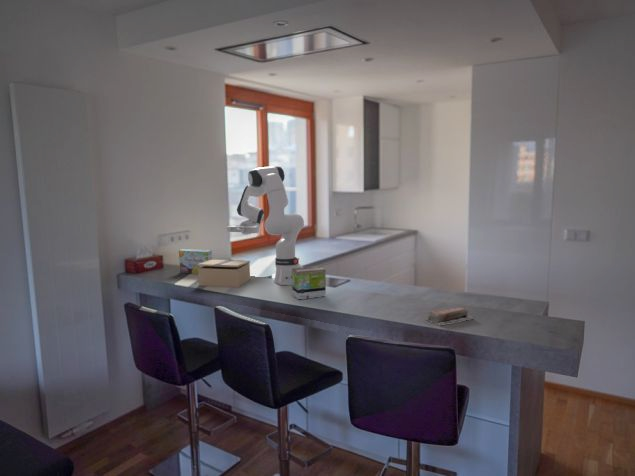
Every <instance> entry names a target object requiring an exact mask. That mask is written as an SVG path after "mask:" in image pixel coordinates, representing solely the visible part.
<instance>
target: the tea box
mask: <svg viewBox="0 0 635 476" xmlns="http://www.w3.org/2000/svg"><path fill="white" fill-rule="evenodd" d="M326 272H327V271H326V268H323V267H321V266H319V265H313V266H305V267H304V266H303V267H301V268H292V285H291V287H292V294H291V295H292V296H293V297H294V298H295V297H296V298H295V299H297V300H298V299H301V300H306V299H307V298H308V299H315V298H314V297H318V298H322V297H321V296H325V297H326V295H327V294H326V293H327V291H326V290H327V289H326V287H327V286H326V285H327V283H326V274H327V273H326ZM308 299H307V300H308Z"/></svg>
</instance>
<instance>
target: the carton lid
mask: <svg viewBox="0 0 635 476" xmlns="http://www.w3.org/2000/svg"><path fill="white" fill-rule="evenodd" d="M247 263H249V264H250V263H251V260H243V259H241V260H239V259H238V260H236V259H212V260H209V261H206V262H203V263H200V264H198V266H218V267H239V266H242V265H245V264H247Z"/></svg>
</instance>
